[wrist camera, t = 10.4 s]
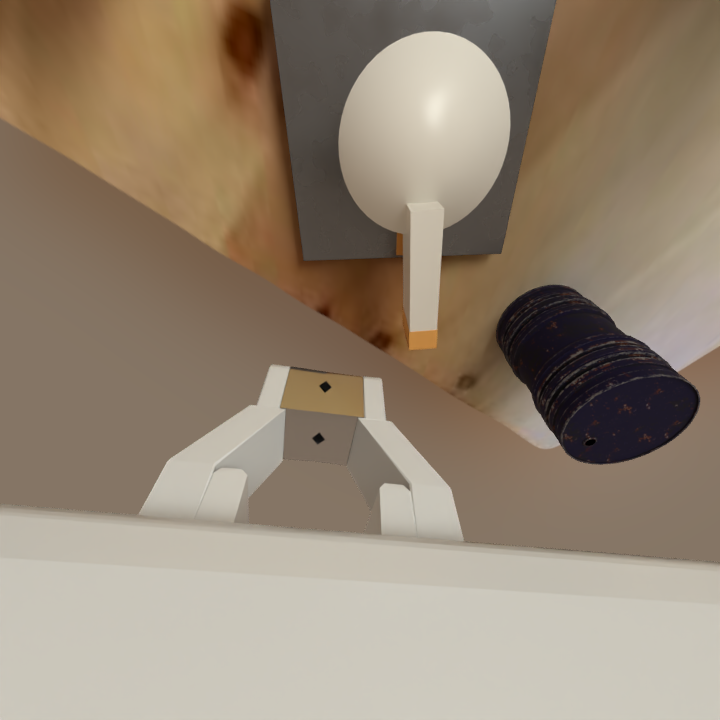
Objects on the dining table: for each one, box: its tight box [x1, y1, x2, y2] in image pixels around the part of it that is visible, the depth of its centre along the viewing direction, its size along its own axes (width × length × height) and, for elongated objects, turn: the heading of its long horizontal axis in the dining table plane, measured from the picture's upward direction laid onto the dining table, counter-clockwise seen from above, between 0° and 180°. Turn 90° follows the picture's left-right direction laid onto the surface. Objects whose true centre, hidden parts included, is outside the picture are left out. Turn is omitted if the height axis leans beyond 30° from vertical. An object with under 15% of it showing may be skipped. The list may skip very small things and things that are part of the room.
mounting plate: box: [270, 0, 556, 261], centre depth 25 cm, size 18×18×6 cm
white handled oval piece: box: [338, 31, 510, 350], centre depth 23 cm, size 18×10×5 cm, turn 5°
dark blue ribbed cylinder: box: [496, 285, 700, 464], centre depth 32 cm, size 10×10×15 cm
